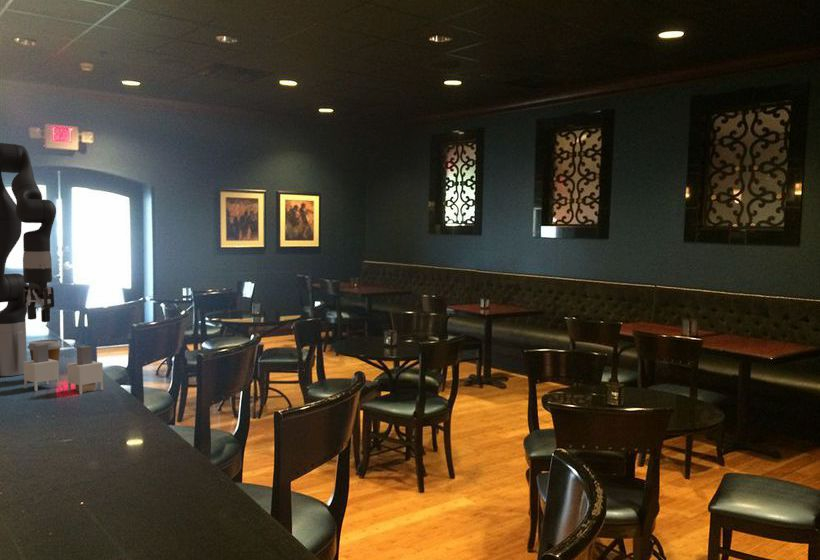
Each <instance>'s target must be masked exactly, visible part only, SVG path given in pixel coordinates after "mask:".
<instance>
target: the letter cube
mask: <svg viewBox="0 0 820 560" xmlns="http://www.w3.org/2000/svg"><path fill="white" fill-rule="evenodd" d="M96 383H97V382H96ZM96 383H91V384H85V385H82V393H87V391H88V392H92V390H93V391H96V390H97V385H96ZM74 385H75V386H74V387H75V391H76V392H79V385H76V384H74Z"/></svg>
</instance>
